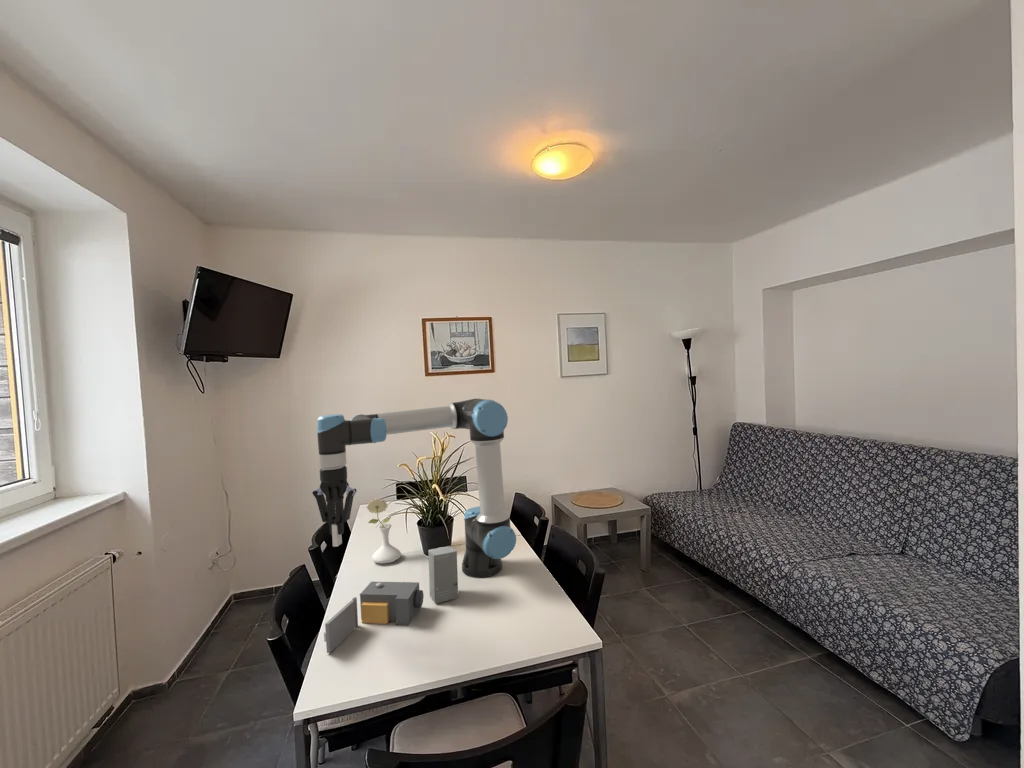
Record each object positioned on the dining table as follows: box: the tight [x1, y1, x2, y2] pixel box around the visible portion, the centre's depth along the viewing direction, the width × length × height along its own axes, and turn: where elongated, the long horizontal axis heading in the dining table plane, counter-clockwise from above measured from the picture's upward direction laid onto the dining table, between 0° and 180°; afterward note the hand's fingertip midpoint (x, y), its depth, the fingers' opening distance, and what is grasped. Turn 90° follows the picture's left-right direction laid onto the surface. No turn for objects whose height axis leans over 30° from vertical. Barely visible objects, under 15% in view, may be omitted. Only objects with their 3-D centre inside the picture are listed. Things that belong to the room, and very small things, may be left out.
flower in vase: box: [366, 498, 402, 564], centre depth 177 cm, size 13×11×25 cm
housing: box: [351, 581, 425, 629], centre depth 136 cm, size 18×12×9 cm, turn 83°
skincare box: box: [428, 545, 459, 605], centre depth 146 cm, size 8×7×16 cm
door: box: [323, 599, 356, 654], centre depth 125 cm, size 12×2×8 cm, turn 167°
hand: (337, 544), depth 132 cm, fingers closed
